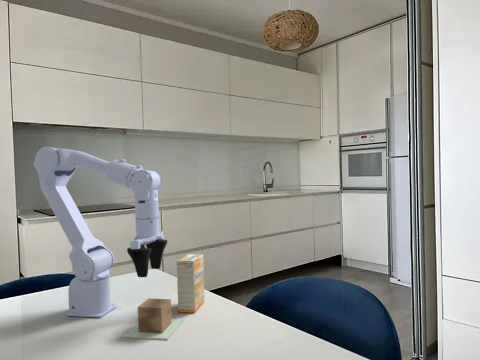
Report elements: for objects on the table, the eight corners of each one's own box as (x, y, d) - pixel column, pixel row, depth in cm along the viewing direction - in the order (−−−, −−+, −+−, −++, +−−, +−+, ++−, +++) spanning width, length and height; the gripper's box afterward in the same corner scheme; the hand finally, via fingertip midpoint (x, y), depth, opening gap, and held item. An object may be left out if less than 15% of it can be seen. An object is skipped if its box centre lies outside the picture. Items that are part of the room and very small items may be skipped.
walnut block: (138, 332, 78) (137, 306, 78) (149, 321, 83) (148, 298, 83) (162, 333, 77) (161, 307, 77) (171, 323, 82) (170, 299, 82)
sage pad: (123, 337, 76) (123, 335, 76) (144, 318, 86) (144, 317, 86) (167, 339, 74) (167, 338, 74) (183, 320, 84) (183, 319, 84)
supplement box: (195, 313, 89) (194, 260, 89) (177, 312, 90) (175, 260, 90) (205, 301, 97) (204, 253, 97) (188, 301, 98) (187, 253, 98)
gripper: (149, 221, 81) (151, 281, 81) (173, 214, 95) (175, 265, 95) (121, 222, 82) (123, 280, 82) (148, 215, 97) (150, 265, 97)
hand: (149, 272), depth 89 cm, fingers open, 7 cm apart
